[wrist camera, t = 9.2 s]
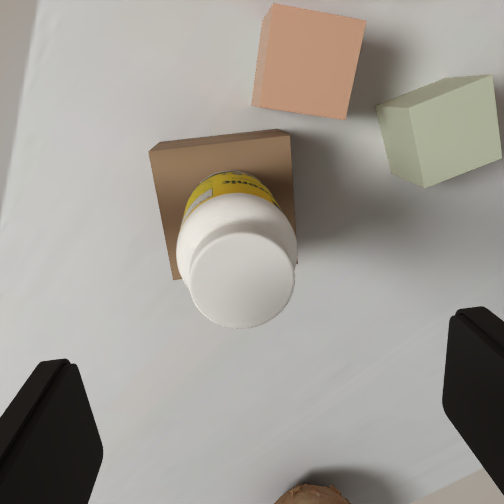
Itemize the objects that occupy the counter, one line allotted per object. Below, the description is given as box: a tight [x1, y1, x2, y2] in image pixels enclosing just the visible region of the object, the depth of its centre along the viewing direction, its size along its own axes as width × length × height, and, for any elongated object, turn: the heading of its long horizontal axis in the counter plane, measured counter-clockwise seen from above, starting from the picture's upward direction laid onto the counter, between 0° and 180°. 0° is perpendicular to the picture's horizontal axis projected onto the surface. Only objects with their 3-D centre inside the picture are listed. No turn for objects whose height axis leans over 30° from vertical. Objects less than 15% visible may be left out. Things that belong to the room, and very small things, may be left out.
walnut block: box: [148, 129, 298, 280], centre depth 26 cm, size 8×8×5 cm
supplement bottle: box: [176, 170, 298, 329], centre depth 19 cm, size 5×5×10 cm
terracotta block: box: [251, 3, 366, 120], centre depth 23 cm, size 5×5×5 cm
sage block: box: [375, 75, 502, 188], centre depth 26 cm, size 5×5×5 cm
